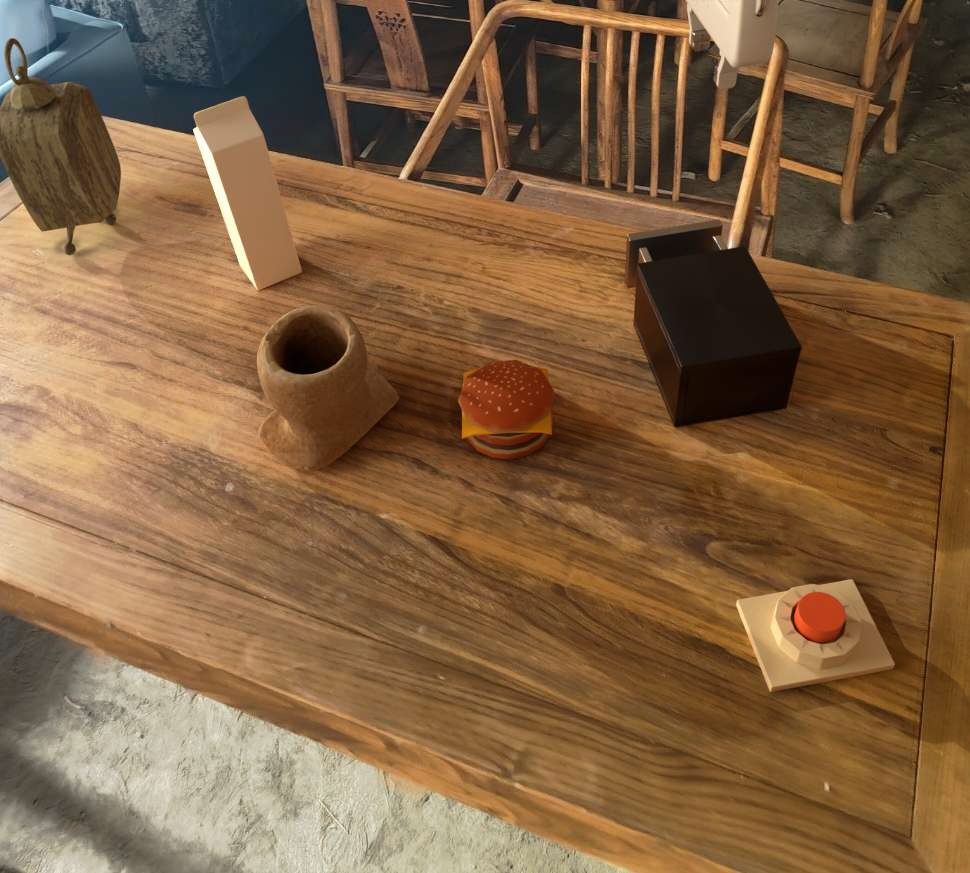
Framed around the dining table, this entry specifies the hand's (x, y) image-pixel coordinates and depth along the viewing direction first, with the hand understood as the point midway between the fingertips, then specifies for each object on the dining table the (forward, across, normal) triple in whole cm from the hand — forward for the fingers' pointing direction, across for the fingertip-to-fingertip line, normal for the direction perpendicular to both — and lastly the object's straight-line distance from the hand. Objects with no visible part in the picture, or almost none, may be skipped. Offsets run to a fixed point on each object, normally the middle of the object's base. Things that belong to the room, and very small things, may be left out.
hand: (711, 66), depth 93 cm
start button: (+20, -52, +6) cm, 56 cm away
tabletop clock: (+24, +24, +73) cm, 80 cm away
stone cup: (+23, -18, +43) cm, 52 cm away
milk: (+23, +10, +50) cm, 56 cm away
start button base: (+23, -52, +6) cm, 57 cm away
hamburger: (+23, -23, +26) cm, 42 cm away
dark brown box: (+23, -19, +4) cm, 30 cm away
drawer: (+22, -11, +4) cm, 25 cm away
